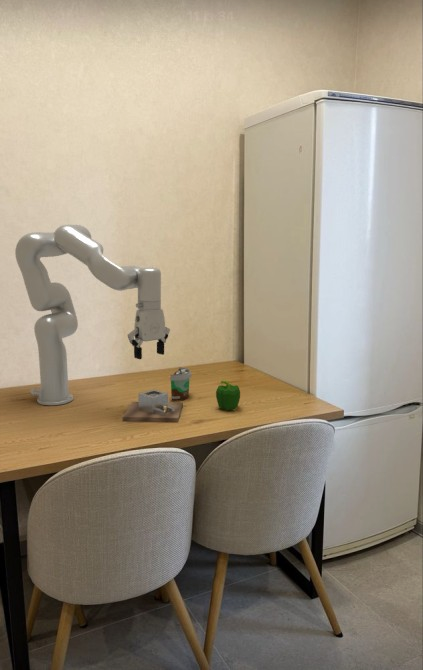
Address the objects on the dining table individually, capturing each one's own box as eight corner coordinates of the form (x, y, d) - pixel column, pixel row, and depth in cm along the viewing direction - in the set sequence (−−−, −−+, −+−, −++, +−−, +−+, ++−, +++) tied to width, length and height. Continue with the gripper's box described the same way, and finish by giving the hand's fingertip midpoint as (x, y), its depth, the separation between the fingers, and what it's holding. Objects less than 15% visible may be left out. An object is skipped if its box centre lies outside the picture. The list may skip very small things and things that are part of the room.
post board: (122, 421, 170) (121, 402, 169) (132, 405, 186) (131, 387, 185) (178, 422, 170) (177, 402, 168) (183, 406, 185) (182, 388, 184)
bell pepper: (245, 407, 184) (245, 379, 182) (232, 414, 177) (232, 385, 176) (224, 403, 189) (224, 376, 187) (211, 409, 182) (211, 381, 180)
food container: (187, 403, 189) (186, 376, 187) (170, 401, 190) (170, 375, 188) (195, 393, 201) (194, 367, 199) (179, 392, 202) (179, 366, 200)
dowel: (162, 413, 173) (162, 406, 173) (163, 412, 175) (163, 405, 174) (166, 413, 173) (166, 406, 173) (167, 412, 175) (166, 405, 174)
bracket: (138, 409, 177) (138, 393, 176) (154, 404, 182) (154, 389, 181) (160, 417, 170) (160, 400, 169) (176, 411, 175) (176, 395, 174)
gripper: (135, 309, 165) (136, 362, 168) (176, 304, 177) (176, 354, 180) (121, 306, 170) (121, 358, 173) (161, 302, 182) (161, 350, 185)
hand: (149, 356), depth 177 cm, fingers open, 9 cm apart
